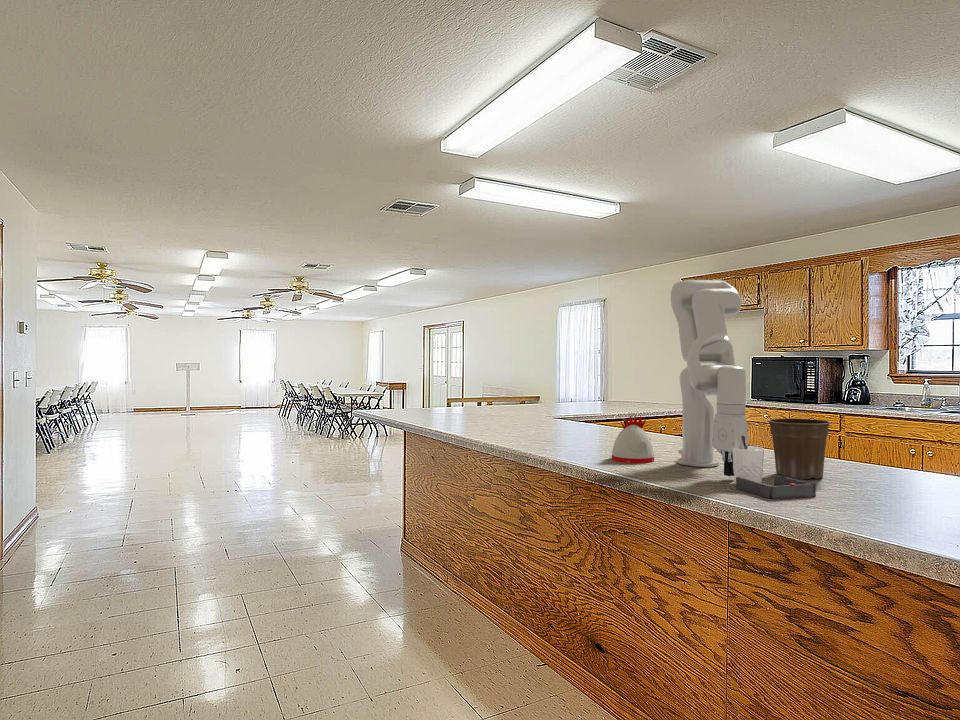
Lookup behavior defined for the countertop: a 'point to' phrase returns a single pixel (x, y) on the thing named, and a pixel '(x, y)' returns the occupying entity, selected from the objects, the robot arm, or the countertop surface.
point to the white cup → (748, 463)
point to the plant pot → (799, 447)
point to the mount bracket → (778, 488)
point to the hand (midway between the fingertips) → (730, 475)
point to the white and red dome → (633, 444)
